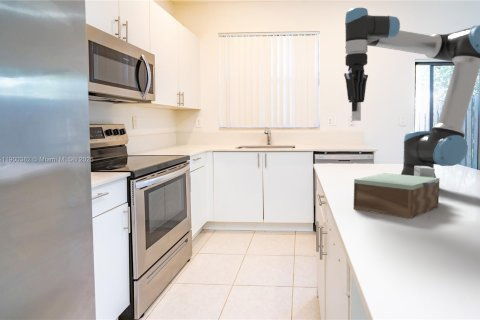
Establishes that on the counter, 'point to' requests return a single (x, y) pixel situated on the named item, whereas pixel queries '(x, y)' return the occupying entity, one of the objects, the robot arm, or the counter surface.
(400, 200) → the wooden box
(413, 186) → the lid
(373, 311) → the counter surface
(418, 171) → the ink box
